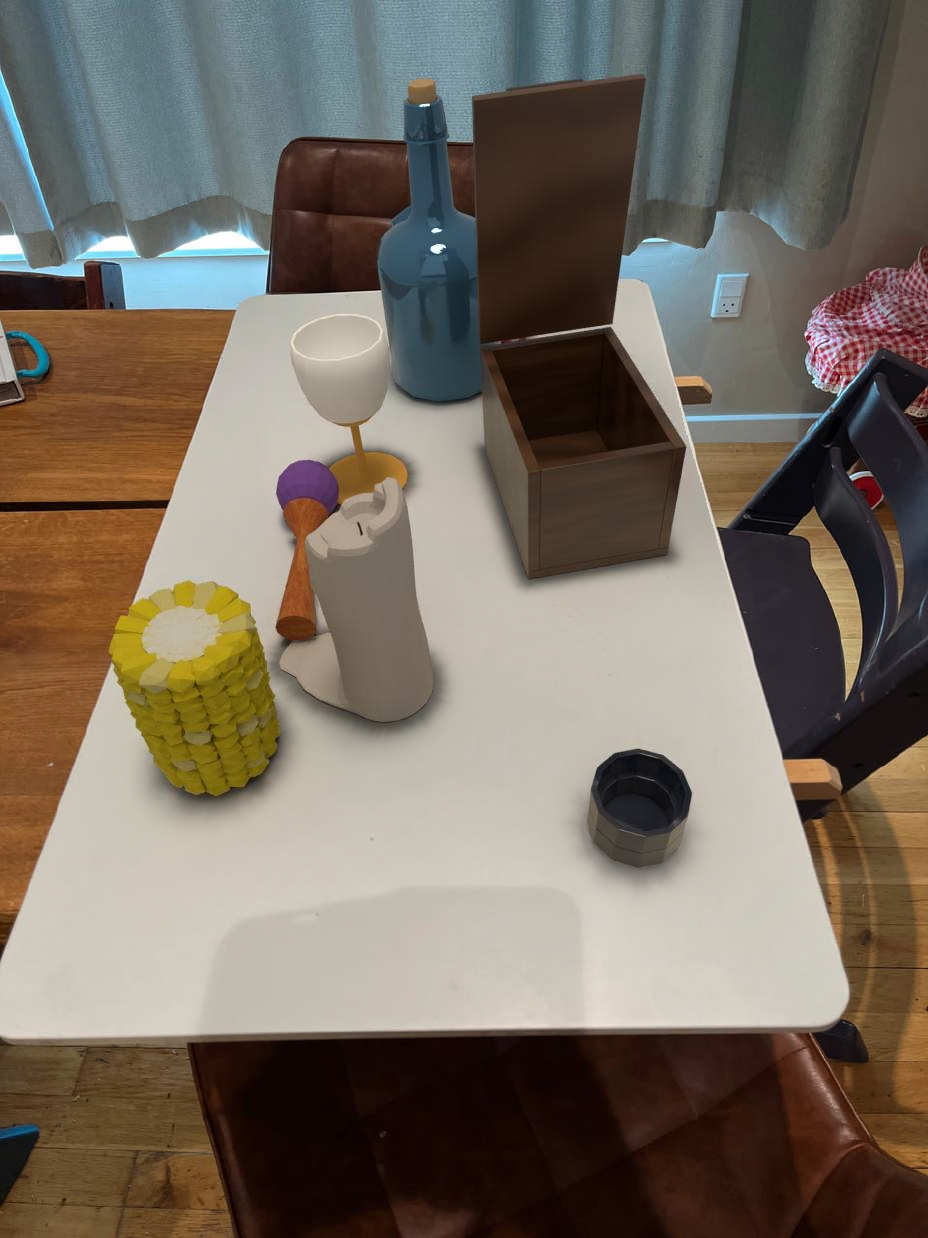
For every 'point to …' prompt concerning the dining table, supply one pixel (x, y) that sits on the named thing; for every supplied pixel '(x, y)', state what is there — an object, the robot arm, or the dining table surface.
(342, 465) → the cup
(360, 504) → the candle
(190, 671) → the food
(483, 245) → the lid
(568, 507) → the chest
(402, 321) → the wine bottle
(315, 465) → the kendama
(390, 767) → the dining table surface
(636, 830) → the bowl
